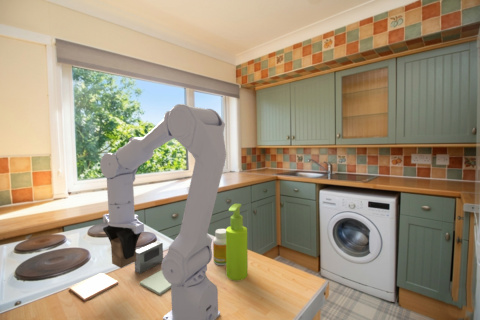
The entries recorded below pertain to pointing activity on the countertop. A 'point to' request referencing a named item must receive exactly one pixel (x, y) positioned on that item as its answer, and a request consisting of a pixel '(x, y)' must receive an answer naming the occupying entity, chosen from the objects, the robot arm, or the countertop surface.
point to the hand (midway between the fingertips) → (124, 254)
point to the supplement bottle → (219, 247)
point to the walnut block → (120, 254)
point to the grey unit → (148, 256)
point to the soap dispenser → (236, 246)
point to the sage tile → (156, 283)
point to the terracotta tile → (93, 286)
